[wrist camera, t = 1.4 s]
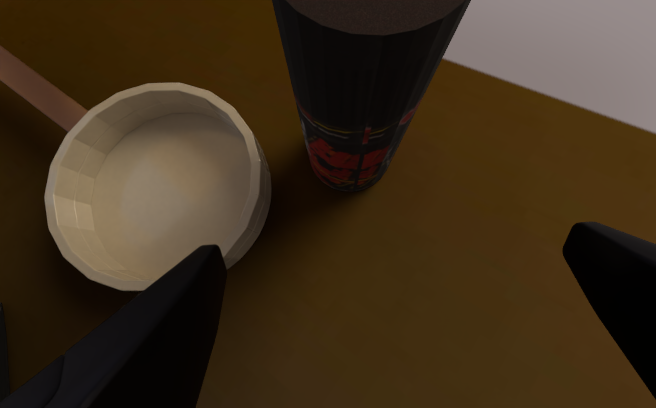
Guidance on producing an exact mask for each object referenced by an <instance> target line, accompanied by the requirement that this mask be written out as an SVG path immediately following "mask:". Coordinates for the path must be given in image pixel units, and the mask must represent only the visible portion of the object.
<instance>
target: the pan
mask: <svg viewBox="0 0 656 408" xmlns="http://www.w3.org/2000/svg"><path fill="white" fill-rule="evenodd" d="M44 199H45V207H46V214H47V222H48V229H49V231H50V233H51V235H52V237H53V238H54V240H55V242H56V244H57V246H58V248H59V250H60V252H61V253H62V255H63V257H64V258H65V259H66V260H67V261H68V262H70V263H71V264H72V265H73V266H74V267H75V268H77V269H78V270H79V271H80V272H81V273H82V274H84V275H85V276H86V277H87V278H88V279H90V280H92V281H95V282H98V283H101V284H104V285H107V286H109V287H112V288H115V289H118V290H122V291H144V290H145V289H146V288H147V287H149V286H150V285H151V284H152V283H154V282H155V281H156V280H158V279H159V278H160V277H161V276H163V275H164V274H165V273H166V272H168V271H169V270H170V269H172V268H173V267H174V266H175V265H177V264H178V263H179V262H180V261H182V260H183V259H184V258H185V257H187V256H188V255H189V254H191V253H192V252H193V251H194V250H196V249H197V248H198V247H200V246H201V245H210V244H216V245H218V246H219V247H220V249H221V253H222V256H223V259H224V262H225V265H226V269H229V268H230V267H231V266H233V265H234V264H235V263H236V262H237V261H238V260H240V259H241V258H242V257H243V256H244V255H245V253H246V252H247V251H248V250H249V249H250V248H251V246H252V245H253V243H254V242H255V240H256V239H257V237H258V236H259V234H260V232H261V230H262V228H263V226H264V224H265V221H266V218H267V215H268V211H269V207H270V202H271V177H270V172H269V167H268V164H267V161H266V158H265V156H264V153H263V150H262V148H261V146H260V145H259V143H258V141H257V140H256V138H255V136H254V135H253V133H252V131H251V130H250V129H249V127H248V126H247V124H246V123H245V122H244V120H243V119H242V118H241V116H240V115H239V114H238V112H237V111H236V110H235V108H234V107H232V106H231V105H229V104H228V103H226V102H225V101H223V100H222V99H221V98H219V97H218V96H216V95H215V94H213V93H212V92H210V91H207V90H204V89H200V88H197V87H193V86H190V85H186V84H183V83H148V84H144V85H141V86H138V87H134V88H131V89H128V90H124V91H121V92H118V93H116V94H115V95H113V96H111V97H110V98H108V99H107V100H105V101H103V102H102V103H100V104H98V105H97V106H95V107H94V108H92V109H90V111H88V112H87V113H86V114H85V115H84V116H83V117H82V119H81V120H80V121H79V122H78V123H77V124H76V125H75V126H74V127H73V128H72V129H71V130H70V131H69V132H68V133H67V135H66V136H65V138H64V140H63V142H62V144H61V146H60V148H59V149H58V151H57V153H56V155H55V157H54V159H53V161H52V163H51V165H50V170H49V175H48V180H47V185H46V190H45V197H44Z"/></svg>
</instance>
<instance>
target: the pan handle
mask: <svg viewBox="0 0 656 408" xmlns="http://www.w3.org/2000/svg"><path fill="white" fill-rule="evenodd" d="M0 80H1V81H2V82H3V83H5V84H6V85H7V86H9V87H10V88H11V89H12V90H14V91H15V92H16V93H18V94H19V95H20V96H22V97H23V98H24V99H25V100H27V101H28V102H29V103H31V104H32V105H33V106H34V107H36V108H37V109H38V110H40V111H41V112H42V113H44V114H45V115H46V116H47V117H49V118H50V119H51V120H53V121H54V122H55V123H57V124H58V125H59V126H60V127H62V128H63V129H64V130H66V131H67V132H69V131H70V130H71V129H72V128H73V127H74V126H75V125H76V124H77V123H78V122H79V121H80V120H81V119H82V117H83V116H84V115H85V114H86V113H87V112H88V110H86V109H85V108H84V107H82V106H81V105H80V104H78V103H77V102H76V101H74V100H73V99H72V98H70V97H69V96H68V95H66V94H65V93H64V92H62V91H61V90H60V89H58V88H57V87H56V86H54V85H53V84H52V83H50V82H49V81H48V80H46V79H45V78H43V77H42V76H41V75H39V74H38V73H37V72H35V71H34V70H33V69H31V68H30V67H29V66H27V65H26V64H25V63H23V62H22V61H21V60H19V59H18V58H17V57H15V56H14V55H13V54H11V53H10V52H9V51H7V50H6V49H5V48H3V47H2V46H0Z"/></svg>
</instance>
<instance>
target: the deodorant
mask: <svg viewBox="0 0 656 408" xmlns="http://www.w3.org/2000/svg"><path fill="white" fill-rule="evenodd" d="M470 1H471V0H272V2H273V6H274V11H275V15H276V19H277V23H278V28H279V32H280V36H281V40H282V45H283V49H284V53H285V57H286V62H287V66H288V70H289V74H290V79H291V83H292V87H293V91H294V96H295V100H296V104H297V108H298V113H299V117H300V121H301V125H302V130H303V134H304V138H305V142H306V147H307V151H308V155H309V159H310V164H311V166H312V168H313V170H314V172H315V174H316V175H317V177H318V178H319V179H320V180H321V181H322V182H323V183H325V184H326V185H328V186H329V187H331V188H333V189H336V190H340V191H347V192H354V191H360V190H364V189H366V188H368V187H370V186H372V185H374V184H375V183H376V182H377V181H378V180H379V179H381V177H382V176H383V174H384V173H385V171H386V170H387V168H388V166H389V164H390V162H391V160H392V158H393V156H394V154H395V152H396V150H397V148H398V146H399V144H400V142H401V140H402V138H403V136H404V134H405V132H406V130H407V128H408V126H409V124H410V122H411V120H412V118H413V116H414V114H415V112H416V110H417V108H418V106H419V104H420V102H421V99H422V97H423V95H424V93H425V91H426V89H427V87H428V85H429V83H430V81H431V79H432V77H433V75H434V73H435V71H436V69H437V67H438V65H439V63H440V61H441V59H442V57H443V55H444V53H445V51H446V49H447V47H448V45H449V43H450V41H451V39H452V37H453V35H454V33H455V31H456V29H457V27H458V25H459V23H460V21H461V19H462V17H463V15H464V13H465V11H466V9H467V7H468V5H469V3H470Z"/></svg>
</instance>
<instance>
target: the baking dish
mask: <svg viewBox="0 0 656 408" xmlns="http://www.w3.org/2000/svg"><path fill="white" fill-rule="evenodd" d="M9 395H10V387H9V371H8V355H7V340H6V329H5V322H4V315H3V308H2V303H0V402H1V401H2V400H4V399H5V398H7V397H8V396H9Z"/></svg>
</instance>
